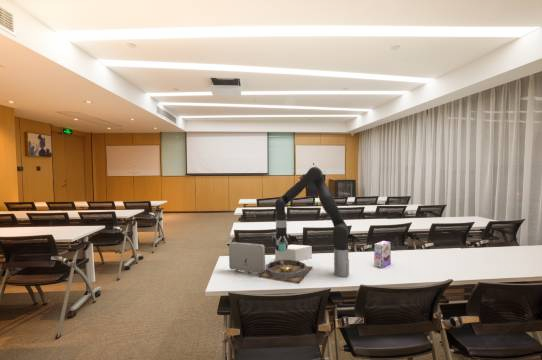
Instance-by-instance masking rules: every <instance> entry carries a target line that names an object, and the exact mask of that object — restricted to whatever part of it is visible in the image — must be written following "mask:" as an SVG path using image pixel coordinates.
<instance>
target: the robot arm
mask: <svg viewBox="0 0 542 360" xmlns="http://www.w3.org/2000/svg"><path fill="white" fill-rule="evenodd" d="M312 183H313V185H314V186H315V188H316V192H317V196H318V200H319V202H320V205H321V206H322V209H323V210H324V212H325V213H326V214H327V216H328V217H329V218H330V220H331V223H332V225H333V230H332V243H333V260H334V261H333V262H334V263H333V265H334V266H333V269H334V270H333V271H334V272H333V273H334V275H335V276H337V277H339V278H340V277H341V278H344V277H345V278H346V277H349V275H350V259H349V244H348V235H349V232H350V231H349V227H348V225H347V224H346V222H345V220H344V218H343V216H342V215H341V213H340V209H339V207H338V205H337V203H336V200H335V198H334V196H333V194H332V192H331V191H330V188H329V187H328V185H327V183H326V181H325V179H324V175H323V171H322V170H321V169H320V168H319V167H317V166H312V167H310V168H309V169H308V170H307V172H306V173H305V174H304V176H303V177H302V178H301V179H300V180H299V181H297V182H296V183H295V184H294V185H292V186H291V187H290V188H289V189H288V190H287V191H285V193H284V194H283V195H282V196H280V197H279V198H277V199H276V200H275V205H274V209H275V212H276V213H275V235H272V236H271V241H272V244H273V245H274V246H275V248H276V250H277V251H278V243H281V241H282V242H283V243H286V249H287V248H288V245H289V244H290V243H291V238H292V236H291V234H287V233H288V232H287V231H288V230H287V226H288V225H287V213H286V206H287V205H288V204H289V203H290V202H291V201H293V200H294V199H296V197H298V196H299V195H300V194H301V193H302V192H303V191H304V189H305V188H307V187H308V186H309V185H311V184H312Z"/></svg>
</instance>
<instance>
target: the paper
mask: <svg viewBox="0 0 542 360" xmlns="http://www.w3.org/2000/svg"><path fill="white" fill-rule="evenodd" d="M274 250H275V252H274V255H275V258H274V261H277V260H295V261H301V262H304V260H305V261H308V259H309V260H312V259H313V256H312V255H313V253H312V245H305V244H304V245H303V244H288V248H287V249H286V251H285V252H279V251H277V250H276V247H274Z"/></svg>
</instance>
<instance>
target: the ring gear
mask: <svg viewBox="0 0 542 360" xmlns="http://www.w3.org/2000/svg"><path fill="white" fill-rule="evenodd" d="M280 261H283V265H284V264H287V265H289V264H290V265H295V266H300V267H301V268H303V270H300V271H298V272H293V273H285V272H283V273H279V272H276V271H272V270H271V269H270V268H271V267H274V266H276V265H281V264H280ZM307 266H308V265H306V263H305V262H303V261H301V262H300V261H295V260H277V261H275V260H274V261H270V262H268V263H267V264H265V270H266V272H267V274H268V275H270V276H272V277H277V278H283V279H286V278H297V277H300V276H303V275H305V274H306V272H307Z"/></svg>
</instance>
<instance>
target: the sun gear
mask: <svg viewBox="0 0 542 360" xmlns="http://www.w3.org/2000/svg"><path fill="white" fill-rule="evenodd" d="M292 271H293V266H289V265H283V266H280V272H288V273H290V272H292Z"/></svg>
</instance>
